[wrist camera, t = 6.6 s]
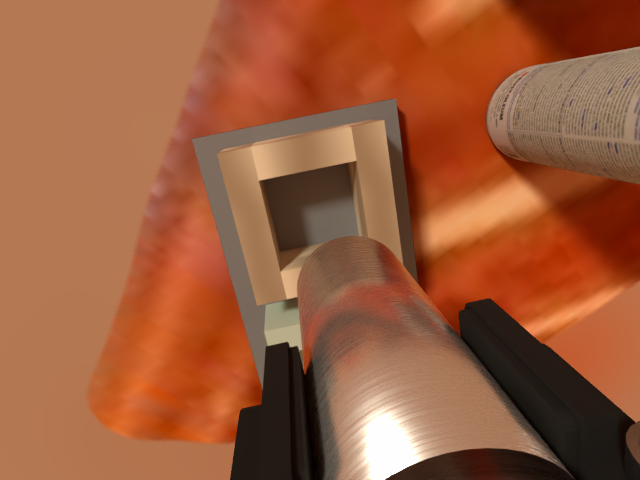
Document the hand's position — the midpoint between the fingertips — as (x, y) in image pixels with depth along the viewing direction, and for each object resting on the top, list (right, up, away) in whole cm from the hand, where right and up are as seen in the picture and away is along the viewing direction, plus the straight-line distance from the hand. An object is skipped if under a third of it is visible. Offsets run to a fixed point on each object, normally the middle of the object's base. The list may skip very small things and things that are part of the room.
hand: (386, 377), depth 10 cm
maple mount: (-2, +6, +19) cm, 20 cm away
